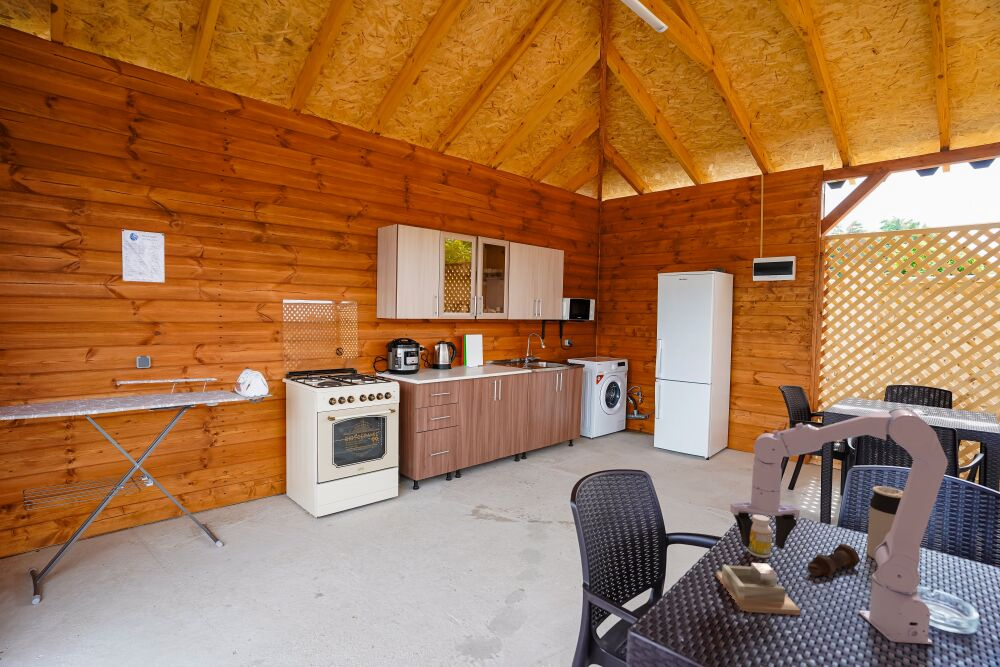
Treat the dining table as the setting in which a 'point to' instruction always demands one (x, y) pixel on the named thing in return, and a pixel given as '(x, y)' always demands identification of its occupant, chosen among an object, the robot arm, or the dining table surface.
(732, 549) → the dining table surface
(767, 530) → the supplement bottle
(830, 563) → the bolt
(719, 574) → the keeper cradle
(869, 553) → the travel mug
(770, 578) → the link block
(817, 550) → the dining table surface
